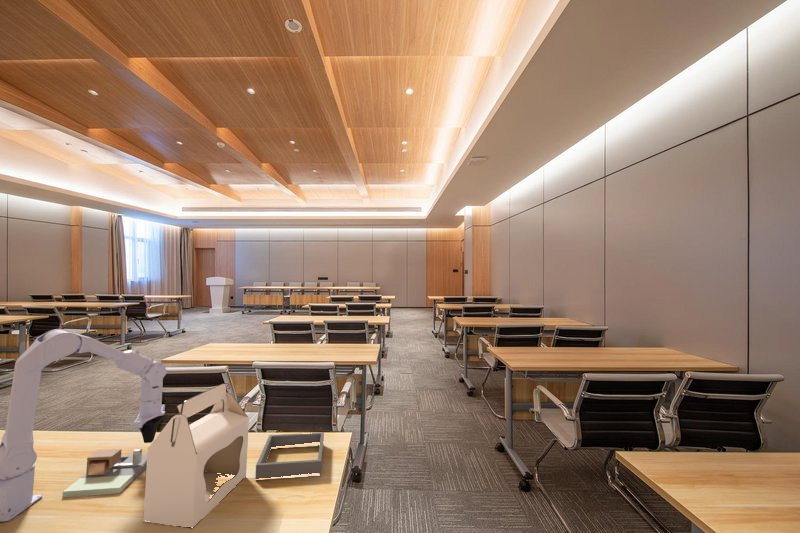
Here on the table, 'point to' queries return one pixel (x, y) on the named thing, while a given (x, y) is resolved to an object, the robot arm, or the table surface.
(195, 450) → the gable box
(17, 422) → the robot arm
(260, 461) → the tray
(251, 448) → the table surface
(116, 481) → the track
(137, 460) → the sled
